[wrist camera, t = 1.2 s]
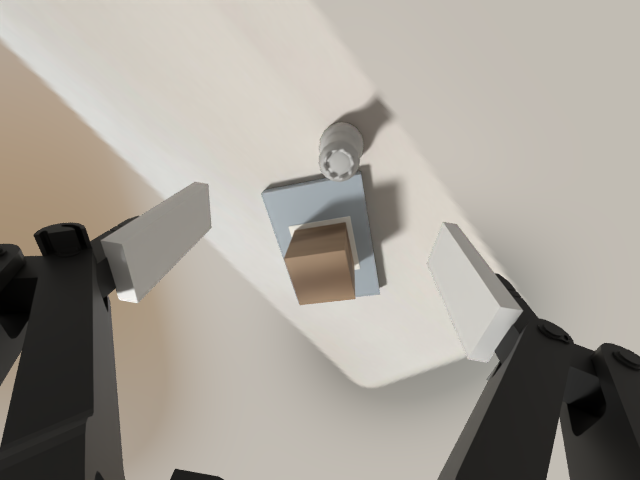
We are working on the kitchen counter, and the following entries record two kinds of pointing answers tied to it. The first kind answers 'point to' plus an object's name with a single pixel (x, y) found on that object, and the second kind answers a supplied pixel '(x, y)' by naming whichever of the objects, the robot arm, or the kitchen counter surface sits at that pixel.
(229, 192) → the kitchen counter surface
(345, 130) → the rook chess piece
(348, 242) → the walnut cube
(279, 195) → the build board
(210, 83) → the kitchen counter surface
